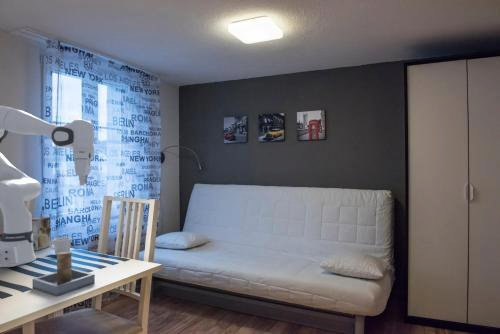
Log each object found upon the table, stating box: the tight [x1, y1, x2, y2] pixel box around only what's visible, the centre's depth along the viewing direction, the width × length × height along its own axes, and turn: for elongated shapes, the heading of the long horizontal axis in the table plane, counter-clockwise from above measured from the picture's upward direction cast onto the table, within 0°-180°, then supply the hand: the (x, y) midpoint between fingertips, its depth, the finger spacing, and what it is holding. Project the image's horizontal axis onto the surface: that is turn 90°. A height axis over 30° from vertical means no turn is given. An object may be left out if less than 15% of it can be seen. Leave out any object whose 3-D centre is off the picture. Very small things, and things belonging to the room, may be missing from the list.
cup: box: [49, 236, 72, 256], centre depth 177 cm, size 11×8×8 cm
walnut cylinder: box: [56, 251, 73, 285], centre depth 135 cm, size 5×5×12 cm
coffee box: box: [32, 216, 52, 251], centre depth 189 cm, size 9×6×16 cm
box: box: [31, 267, 96, 297], centre depth 135 cm, size 15×15×4 cm
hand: (83, 184), depth 162 cm, fingers open, 8 cm apart
